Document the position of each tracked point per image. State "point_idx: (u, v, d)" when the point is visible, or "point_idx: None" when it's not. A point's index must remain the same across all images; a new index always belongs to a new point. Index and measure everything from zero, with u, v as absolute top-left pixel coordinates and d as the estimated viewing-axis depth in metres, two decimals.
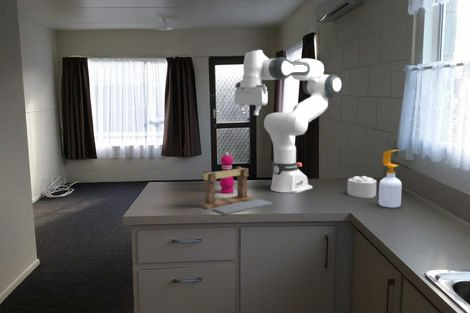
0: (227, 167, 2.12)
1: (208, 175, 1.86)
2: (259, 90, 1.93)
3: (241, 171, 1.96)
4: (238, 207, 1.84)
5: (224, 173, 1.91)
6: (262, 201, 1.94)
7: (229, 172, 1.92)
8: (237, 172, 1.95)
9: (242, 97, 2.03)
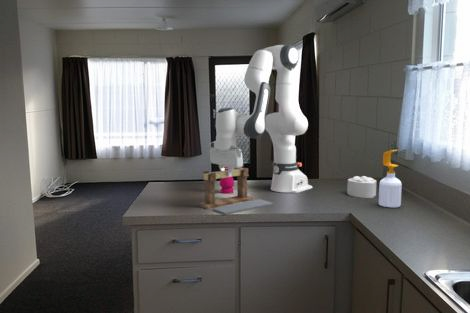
0: (227, 167, 2.12)
1: (208, 175, 1.86)
2: (233, 153, 1.85)
3: (241, 171, 1.96)
4: (238, 207, 1.84)
5: (224, 173, 1.91)
6: (262, 201, 1.94)
7: None
8: (237, 172, 1.95)
9: (217, 157, 1.94)
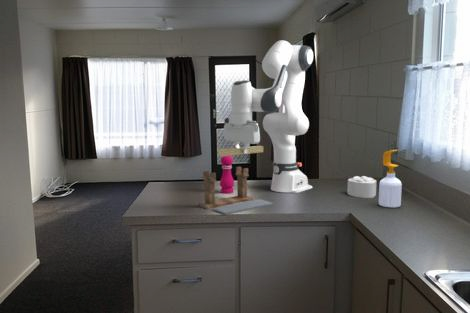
0: (227, 167, 2.12)
1: (223, 151, 1.75)
2: (249, 128, 1.74)
3: (257, 148, 1.86)
4: (238, 207, 1.84)
5: (239, 150, 1.80)
6: (262, 201, 1.94)
7: None
8: (253, 149, 1.85)
9: (232, 133, 1.84)
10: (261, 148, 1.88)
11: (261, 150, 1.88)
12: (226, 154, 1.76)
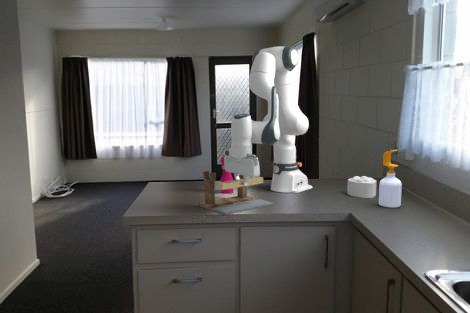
0: None
1: (223, 184, 1.77)
2: (249, 162, 1.76)
3: (257, 180, 1.88)
4: (238, 207, 1.84)
5: (239, 182, 1.82)
6: (262, 201, 1.94)
7: None
8: (253, 181, 1.87)
9: (232, 165, 1.86)
10: (261, 179, 1.90)
11: (261, 181, 1.90)
12: (226, 187, 1.78)
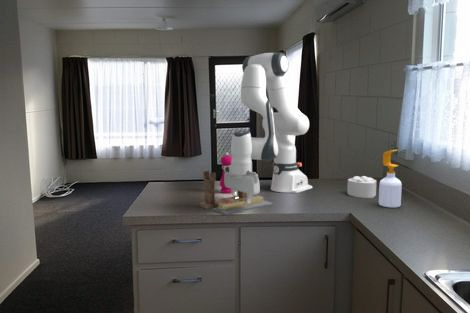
0: None
1: (223, 206, 1.79)
2: (249, 179, 1.77)
3: (257, 200, 1.89)
4: None
5: (240, 203, 1.84)
6: None
7: None
8: (253, 201, 1.88)
9: (232, 181, 1.87)
10: (261, 199, 1.91)
11: (261, 201, 1.91)
12: (227, 208, 1.80)
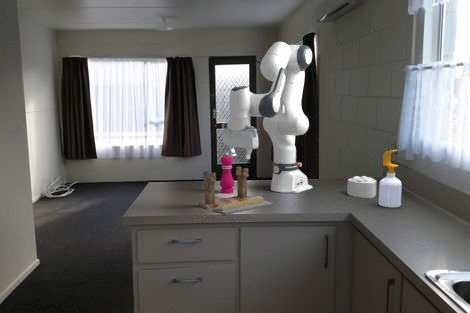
0: (227, 167, 2.12)
1: (223, 206, 1.79)
2: (248, 134, 1.76)
3: (257, 200, 1.89)
4: None
5: (240, 203, 1.84)
6: None
7: (245, 201, 1.85)
8: (253, 201, 1.88)
9: (230, 138, 1.86)
10: (261, 199, 1.91)
11: (261, 201, 1.91)
12: (227, 208, 1.80)
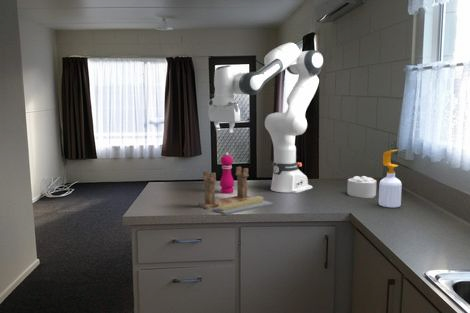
0: (227, 167, 2.12)
1: (223, 206, 1.79)
2: (230, 108, 1.91)
3: (257, 200, 1.89)
4: None
5: (240, 203, 1.84)
6: None
7: (245, 201, 1.85)
8: (253, 201, 1.88)
9: (215, 114, 2.01)
10: (261, 199, 1.91)
11: (261, 201, 1.91)
12: (227, 208, 1.80)
